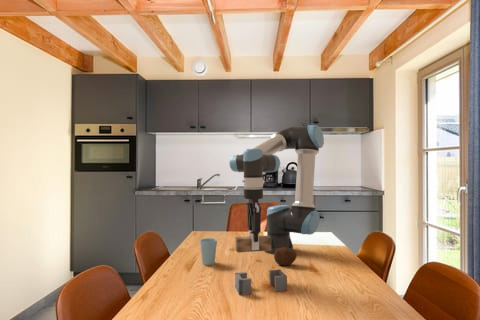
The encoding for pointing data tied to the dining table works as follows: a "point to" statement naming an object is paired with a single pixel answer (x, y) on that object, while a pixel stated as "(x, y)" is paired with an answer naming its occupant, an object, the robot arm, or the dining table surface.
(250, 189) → the robot arm
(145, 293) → the dining table surface
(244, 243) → the dark brown block
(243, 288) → the endcap
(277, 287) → the endcap
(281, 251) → the potato
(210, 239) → the cup
